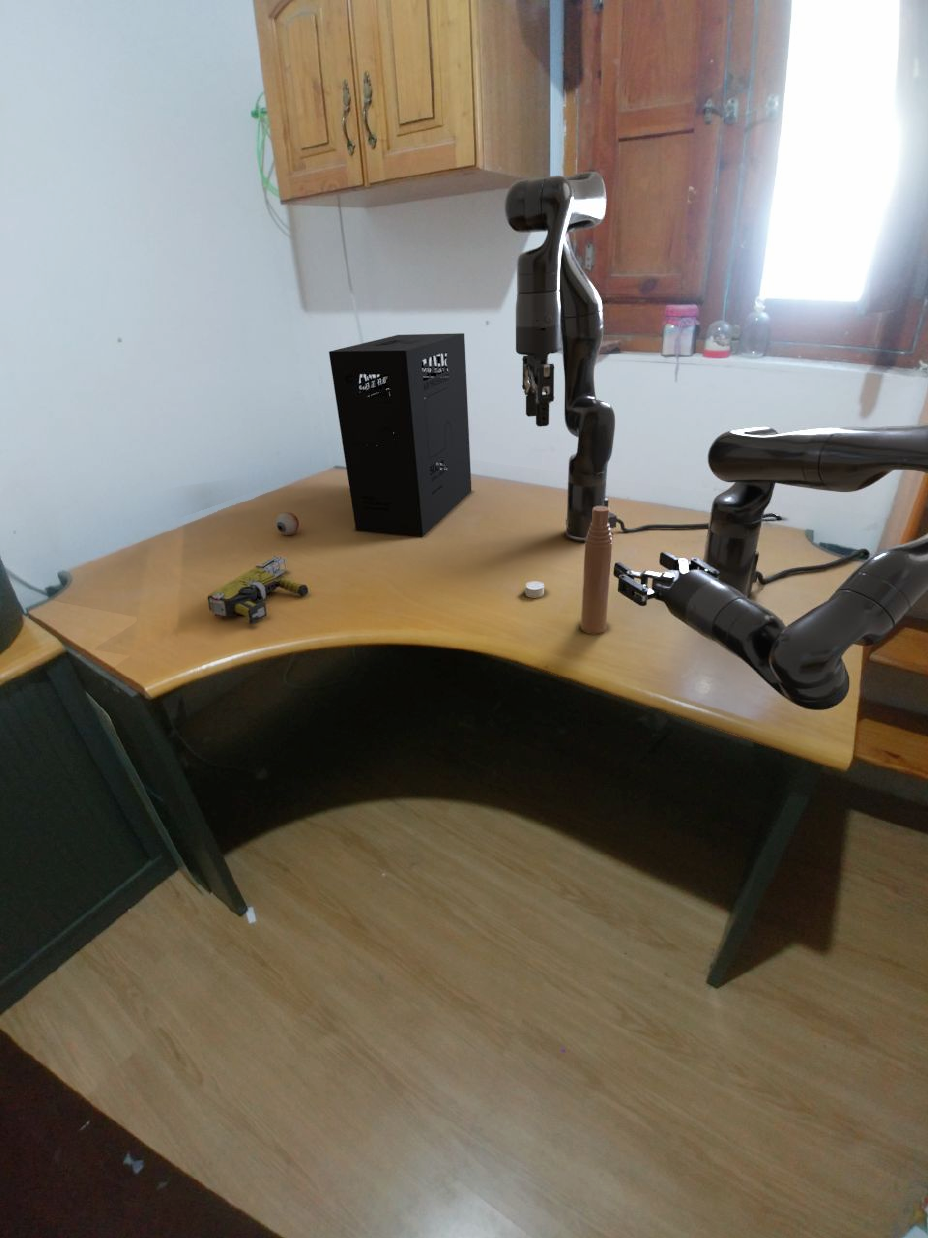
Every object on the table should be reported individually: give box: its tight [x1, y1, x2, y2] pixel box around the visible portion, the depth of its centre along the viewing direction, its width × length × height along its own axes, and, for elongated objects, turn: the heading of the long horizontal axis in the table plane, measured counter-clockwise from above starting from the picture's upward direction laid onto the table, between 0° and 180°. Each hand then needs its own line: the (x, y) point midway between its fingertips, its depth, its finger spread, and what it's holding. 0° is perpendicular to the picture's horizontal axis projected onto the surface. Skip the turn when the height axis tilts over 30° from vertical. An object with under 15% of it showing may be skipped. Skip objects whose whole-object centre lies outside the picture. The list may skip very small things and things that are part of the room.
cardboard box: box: [328, 332, 472, 537], centre depth 166 cm, size 38×20×45 cm, turn 159°
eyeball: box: [275, 511, 300, 536], centre depth 163 cm, size 6×6×6 cm
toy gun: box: [206, 555, 309, 625], centre depth 131 cm, size 5×24×15 cm
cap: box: [525, 580, 545, 599], centre depth 128 cm, size 4×4×2 cm
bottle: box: [580, 506, 613, 635], centre depth 109 cm, size 5×5×24 cm
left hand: (537, 420), depth 110 cm, fingers open, 8 cm apart
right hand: (639, 562), depth 96 cm, fingers open, 8 cm apart
